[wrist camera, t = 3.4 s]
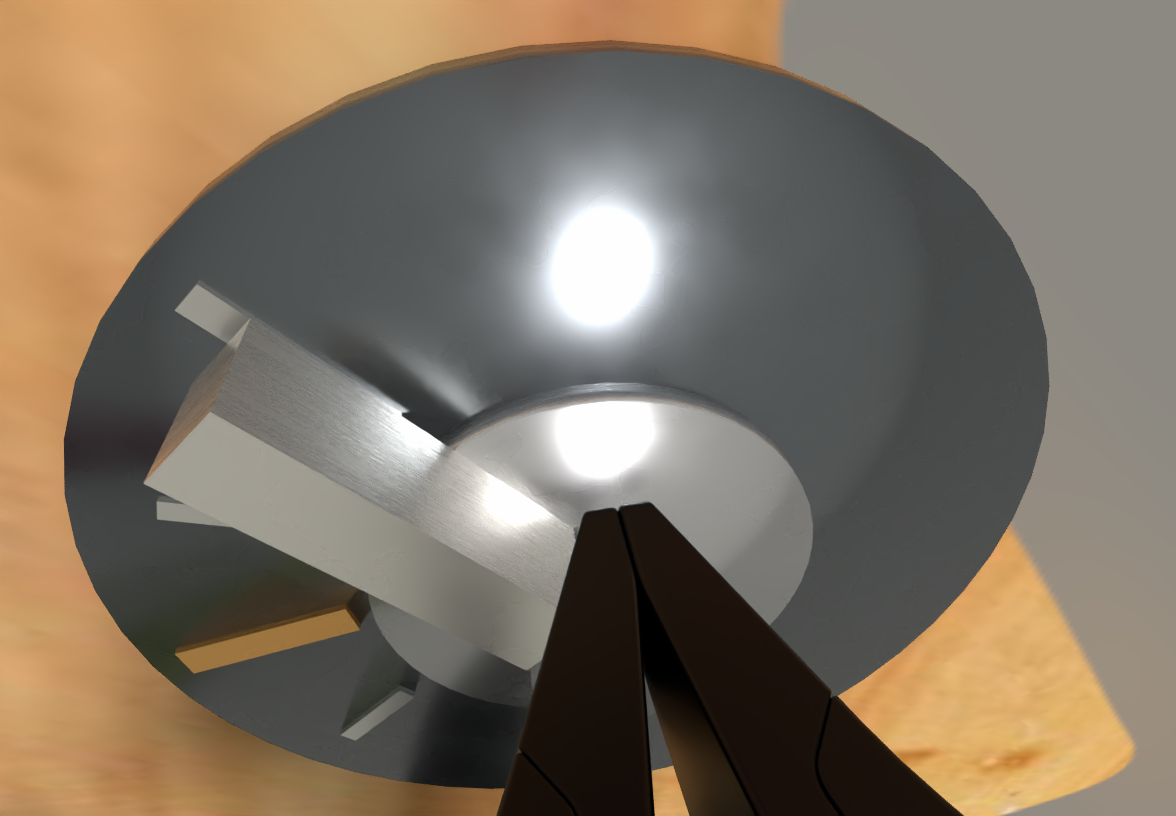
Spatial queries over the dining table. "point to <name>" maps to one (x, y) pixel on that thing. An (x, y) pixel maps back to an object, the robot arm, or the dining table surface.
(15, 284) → the dining table surface
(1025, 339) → the dial plate
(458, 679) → the dial
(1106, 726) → the dining table surface
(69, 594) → the dining table surface
